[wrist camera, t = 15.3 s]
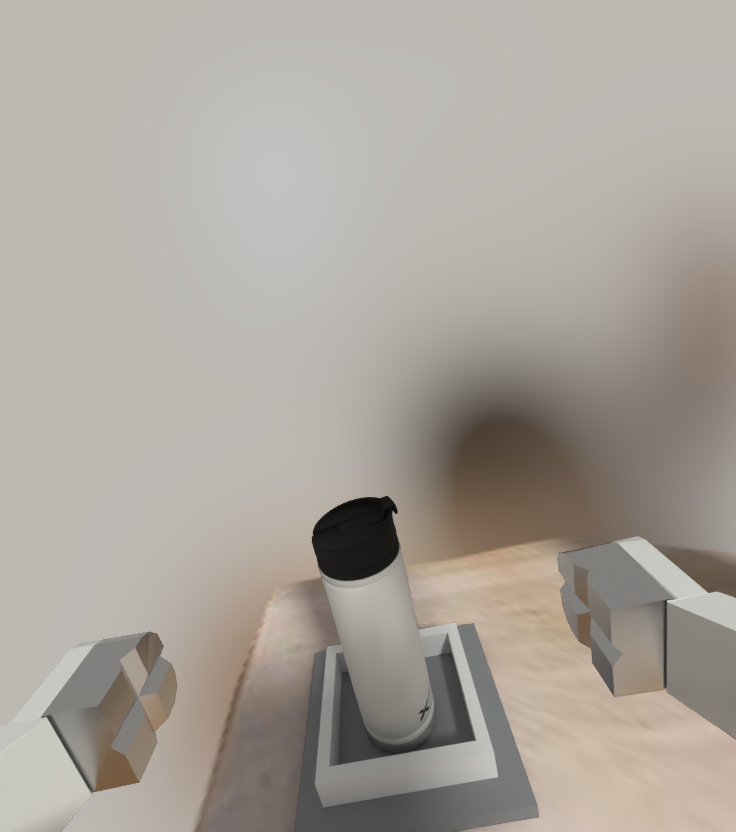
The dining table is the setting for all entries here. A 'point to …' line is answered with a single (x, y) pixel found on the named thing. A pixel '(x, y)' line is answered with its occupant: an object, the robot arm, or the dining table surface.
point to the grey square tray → (413, 751)
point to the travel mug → (376, 621)
